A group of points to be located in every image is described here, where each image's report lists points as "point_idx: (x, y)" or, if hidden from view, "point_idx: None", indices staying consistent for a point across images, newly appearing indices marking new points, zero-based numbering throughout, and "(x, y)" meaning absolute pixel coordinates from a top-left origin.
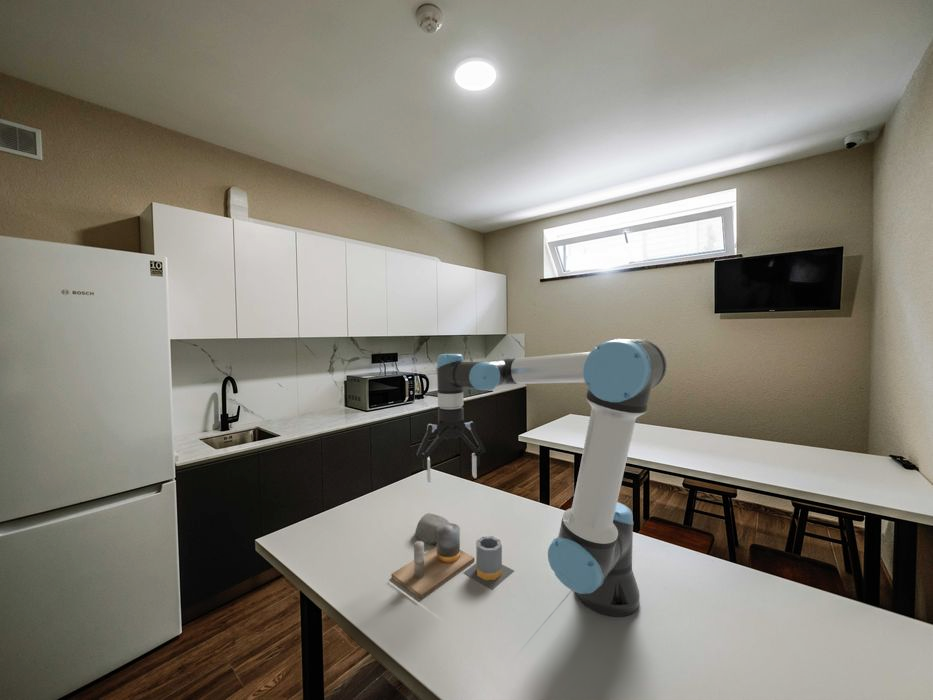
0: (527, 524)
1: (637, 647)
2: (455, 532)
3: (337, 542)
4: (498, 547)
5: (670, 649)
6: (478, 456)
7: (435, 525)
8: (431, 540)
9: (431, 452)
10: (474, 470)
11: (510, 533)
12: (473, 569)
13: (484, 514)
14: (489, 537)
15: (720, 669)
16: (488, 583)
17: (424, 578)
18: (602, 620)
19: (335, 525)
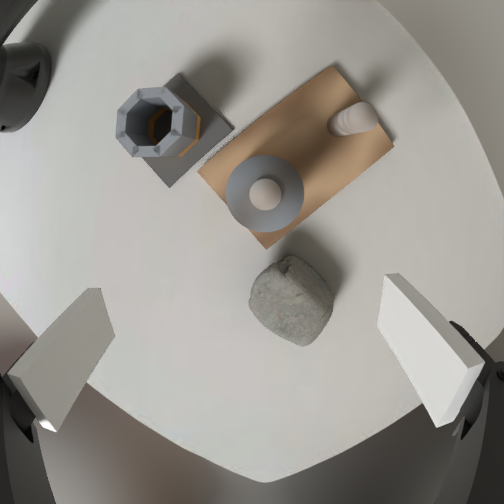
0: None
1: (41, 7)
2: (242, 167)
3: (464, 289)
4: (127, 100)
5: None
6: (9, 377)
7: (291, 283)
8: (299, 260)
9: (488, 427)
10: (74, 312)
11: (107, 275)
12: (205, 139)
13: (160, 357)
14: (140, 150)
15: None
16: (181, 91)
17: (326, 111)
18: (47, 35)
19: None
